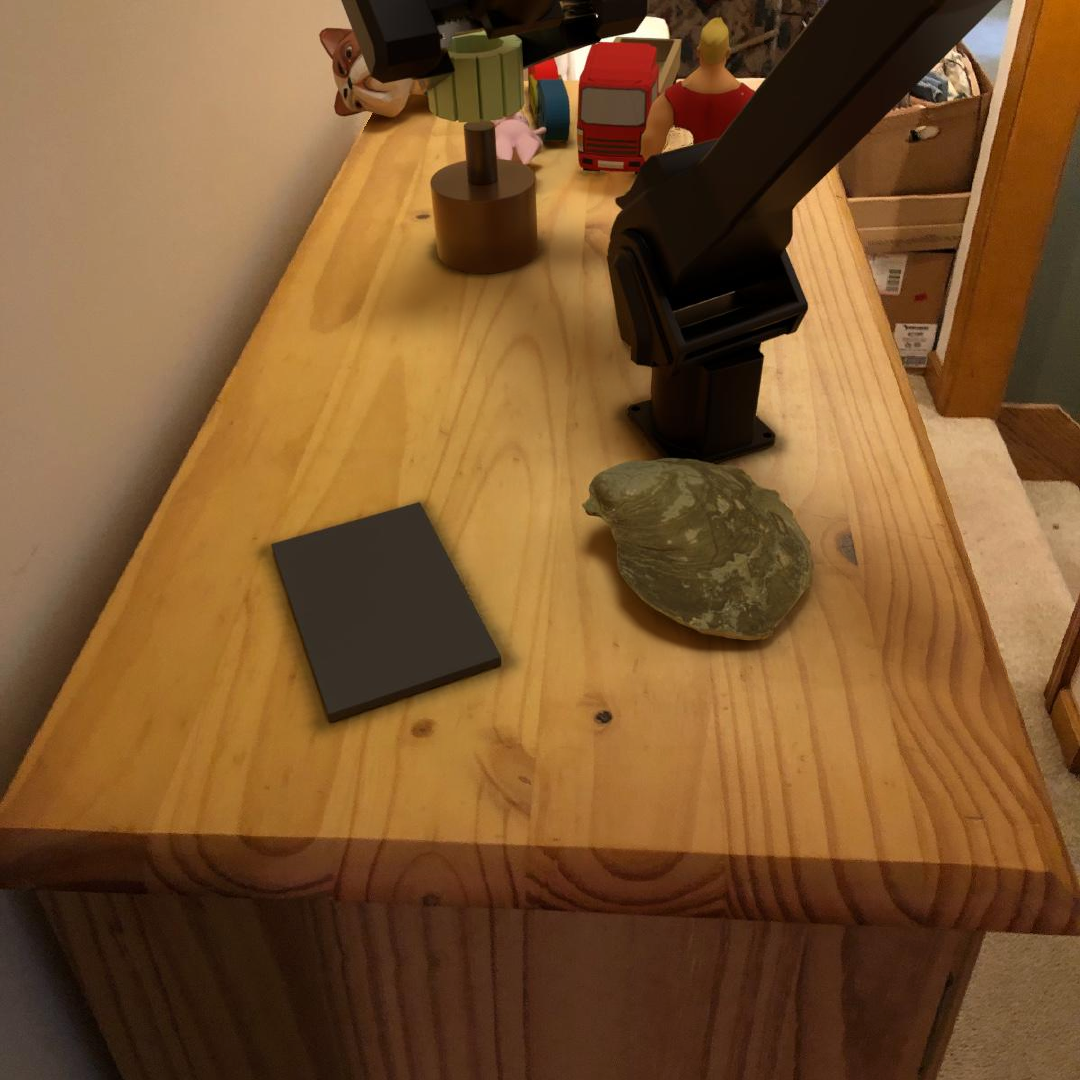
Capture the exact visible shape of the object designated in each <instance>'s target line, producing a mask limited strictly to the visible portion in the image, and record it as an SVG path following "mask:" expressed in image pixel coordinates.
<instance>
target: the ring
mask: <svg viewBox="0 0 1080 1080" xmlns="http://www.w3.org/2000/svg"><path fill="white" fill-rule="evenodd" d="M447 51H448V53H449V56H450V58H451V61H452V63H453V66H454V69H455V72H454V73H453V74H451V75H450V76H449V77H447V78H446V79H445V80H443V81H442V82H441V83H439V84H438V85H437V86H435V87H434V88H432V89H430V90H429V91H428V97H427V99H428V108H429V111H430V112H431V113H432V114H433V115H434V116H435V117H438V118H439V119H442V120H447V121H450V122H457V121H458V123H467V122H480V120H482V121H483V122H487V121H491V122H492V121H493V120H498V119H503V117H509V116H511V115H513V114H515V113H520V112H521V110H522V111H523V108H524V105H525V80H524V79H525V77H524V70H523V51H522V41H521V39H520V38H518V37H517V36H515V35H510V36H505V37H500V38H495V39H490V40H488V37H487V35H486V32H485V31H481V32H476V33H471V34H466V35H461V36H455V37H452V42H451V44H450V46H449V48H447Z"/></svg>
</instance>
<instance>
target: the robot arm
mask: <svg viewBox="0 0 1080 1080" xmlns="http://www.w3.org/2000/svg"><path fill="white" fill-rule="evenodd" d="M340 1H341V3H342V6H343V9H344V11H345V14H346V16H347V19H348V22H349V24H350V27H351V29H352V30H353V32H354V35H355V37H356V40H357V42H358V45H359V48H360V50H361V53H362V55H363V58H364V60H365V63H366V66H367V68H368V71H369V73H370V76H371V77H372V78H374V79H376V80H378V81H379V82H381V83H383V84H384V83H389V82H394V81H399V80H404V79H409V78H411V79H412V80H416V81H417V80H418V83H419V86H420V88H421V91H422V92H426V91H429V90H430V89H432V88H434V87H435V86H437V85H438V84H439V83H441V82H442V81H443V80H445V79H446V78H447V77H449V76H450V75H451V74H453V73H454V72H455V69H454V66H453V63H452V61H451V58H450V56H449V53H448V51H447V48H449V46H450V44H451V42H452V37H455V36H461V35H466V34H471V33H476V32H481V31H485V32H486V35H487V37H488V40H490V39H495V38H500V37H505V36H510V35H515V36H517V37H518V38H520V39H521V41H522V51H523V71H524V70H528V68H529V67H532V66H534V65H537V64H540V63H542V62H545V61H547V60H550V59H553V58H554V59H556V58H558V57H561V56H563V55H567V54H569V53H572V52H575V51H577V50H578V51H579V50H580V49H583V48H586V47H589V46H591V45H593V44H597V43H598V42H601V40H604V39H608V38H609V39H610V38H615V37H620V36H624V35H628V34H633V33H636V32H637V30H638V29H639V28H640V26H641V25H642V23H643V22H644V21H645V19H646V17H647V16H648V13H649V10H650V7H651V0H340ZM1002 1H1003V0H824V2H823V3H822V5H821V6H820V7H819V9H818V10H817V11H816V13H814V15H813V16H812V17H811V19H810V20H809V21H808V23H807V24H806V25H805V26H804V28H803V29H802V30H801V32H800V33H799V34H798V35H797V37H796V38H795V39H794V40H793V42H792V43H791V45H790V46H789V47H788V48H787V50H786V51H785V52H784V53H783V55H782V56H781V58H780V59H779V60H778V61H777V63H776V64H775V65H774V67H773V68H772V69H771V70H770V72H769V73H768V74H767V75H766V77H765V78H764V79H763V80H762V82H761V83H760V84H759V86H757V88H756V90H755V92H754V94H753V95H752V96H751V98H750V99H749V100H748V101H747V103H746V104H745V105H744V107H743V108H742V109H741V110H740V112H739V113H738V114H737V116H736V117H735V118H734V119H733V121H732V122H731V123H730V125H729V126H728V127H727V128H726V130H725V131H724V132H723V134H722V135H721V136H720V137H719V138H716V139H713V140H709V141H705V142H701V143H697V144H694V145H693V144H690V145H687V146H683V147H679V148H675V149H671V150H668V151H663V152H662V153H659V154H656V155H652V156H650V157H649V158H648V159H647V161H646V162H645V163H644V164H643V165H642V166H641V167H640V169H639V171H638V173H637V174H635V175H636V176H635V178H634V180H633V182H632V184H631V186H630V188H629V189H628V190H627V191H626V192H625V193H624V194H623V195H620V196H617V197H615V200H614V201H615V204H616V206H617V207H618V208H620V211H619V212H618V214H617V215H616V216H615V219H614V221H613V224H612V226H611V230H610V235H609V240H610V241H609V242H608V246H607V254H606V261H607V268H608V269H607V270H608V275H609V279H610V286H611V292H612V298H613V304H614V309H615V310H614V311H615V317H616V323H617V327H618V331H619V336H620V339H621V341H622V343H624V344H626V345H627V346H628V347H629V348H630V359H629V360H630V361H631V362H632V363H634V365H636V366H640V367H647V368H648V367H650V368H651V377H650V378H651V379H650V399H647V400H643V401H639V402H636V403H632V404H630V405H628V406H627V411H626V412H627V417H628V419H630V420H631V422H632V423H633V424H634V425H635V427H637V429H638V430H639V431H640V432H641V433H642V434H643V436H644V437H645V438H646V439H647V440H648V442H649V443H650V444H651V445H652V446H653V448H655V450H656V451H657V453H658V454H659V455H660V456H661V457H662V458H679V459H695V460H699V461H703V462H709V463H712V464H715V463H718V462H721V461H725V460H728V459H731V458H734V457H738V456H741V455H745V454H749V453H751V452H756V451H758V450H759V451H760V450H761V449H764V448H768V447H772V446H774V445H775V443H776V439H777V435H776V433H775V432H774V431H773V429H771V428H770V427H769V426H768V425H767V424H766V423H765V422H764V421H763V420H762V419H761V418H760V417H759V416H758V415H757V413H758V406H759V396H760V392H761V391H760V389H761V383H762V375H763V369H764V362H765V361H764V360H765V354H764V353H762V352H761V347H762V343H765V342H767V341H770V340H773V339H775V338H778V337H781V336H784V335H786V336H789V335H791V334H794V333H796V332H798V330H799V327H800V325H802V322H803V320H804V318H805V316H806V314H807V313H808V311H809V302H808V300H807V298H806V295H805V293H804V290H803V288H802V286H801V283H800V280H799V278H798V276H797V273H796V271H795V269H794V266H793V263H792V261H791V259H790V256H789V253H788V251H787V248H788V246H789V244H791V241H792V238H793V235H794V231H793V230H794V209H795V208H796V206H797V205H798V204H799V203H800V202H801V201H802V200H803V199H804V198H805V197H806V196H807V195H808V194H809V193H810V192H811V191H812V190H813V189H814V188H815V187H816V186H817V185H818V184H819V183H820V182H821V181H822V180H823V179H824V178H825V177H826V176H827V175H828V174H829V173H830V172H831V171H832V170H833V169H834V168H835V167H836V166H837V165H838V164H839V163H840V162H841V161H843V159H844V158H845V157H846V156H847V155H848V154H849V153H850V152H851V151H852V150H853V149H854V148H855V147H856V146H857V145H858V144H859V143H860V142H861V141H862V140H863V139H864V138H866V136H867V135H868V134H869V133H870V132H871V131H872V130H874V128H875V127H876V126H877V125H878V124H879V123H880V122H881V121H882V120H883V119H884V118H885V117H886V116H887V115H888V114H889V113H890V112H891V111H892V110H893V109H894V108H895V107H896V106H897V105H898V104H899V103H900V102H901V101H902V100H903V99H904V98H905V97H906V96H907V95H909V93H910V92H911V91H912V90H913V89H915V87H916V86H917V85H918V84H919V83H920V82H922V80H923V79H924V78H925V77H926V76H927V75H928V74H929V73H930V72H931V71H932V70H933V69H934V68H935V67H936V66H937V65H938V64H939V63H940V62H941V61H942V60H943V59H944V58H945V57H946V56H947V55H948V54H949V53H950V52H951V51H952V50H954V48H955V47H956V46H957V45H959V43H960V42H961V41H962V40H963V39H964V38H965V37H966V36H967V35H968V34H969V33H970V32H971V31H972V30H974V28H976V26H977V25H978V24H979V23H981V21H982V20H983V19H984V18H986V16H987V15H988V14H989V13H990V12H991V11H992V10H993V9H994V8H995V7H997V5H998V4H999V3H1001V2H1002ZM734 291H735V292H734ZM731 292H733V293H731ZM728 293H730V294H728ZM725 294H727V295H725ZM722 295H724V296H722ZM719 296H721V297H719ZM716 297H718V298H716ZM713 298H715V299H713ZM710 299H712V300H710ZM707 300H709V301H707ZM704 301H706V302H704ZM701 302H703V303H701ZM698 303H700V304H698ZM695 304H697V305H695ZM692 305H694V306H692ZM689 306H691V307H689ZM686 307H688V308H686ZM683 308H685V309H683ZM680 309H682V310H680ZM677 310H679V311H677ZM674 311H676V312H674Z"/></svg>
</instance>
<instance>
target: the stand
mask: <svg viewBox="0 0 1080 1080" xmlns="http://www.w3.org/2000/svg"><path fill="white" fill-rule="evenodd" d="M463 138H464V139H463V140H464V151H465V160H462V161H457V162H454V163H451V164H448V165H446V166H444V167H442V168H440V169H439V170H437V171H436V172H434V174H433V175H432V176H431V178H430V180H429V182H430V183H429V184H430V195H431V204H432V205H431V206H432V213H433V223H434V233H435V241H436V252H437V256H438V259H439V260H440V261H441V263H443V264H444V265H445V266H447V267H449V268H451V269H453V270H456V271H460V272H463V273H464V272H465V273H471V274H496V273H503V272H507V271H511V270H514V269H517V268H520V267H522V266H524V265H526V264H528V263H529V262H531V260H532V259H534V258H535V256H536V255H537V253H538V249H539V243H538V241H539V240H538V211H537V181H536V180H537V179H536V178H537V177H536V174H535V172H534V171H533V170H532V168H530V167H529V166H527V165H523V164H521V163H518V162H515V161H511V160H505V159H497V151H496V134H495V124H494V123H493V122H492V121H487V122H483V121H482V120H480V122H465V123H464V124H463Z"/></svg>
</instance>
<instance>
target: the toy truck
mask: <svg viewBox="0 0 1080 1080" xmlns="http://www.w3.org/2000/svg"><path fill="white" fill-rule="evenodd" d="M681 52H682V39H681V38H662V37H661V38H659V37H657V38H656V37H633V36H632V37H631V36H615V37H614V40H613V41H600V42H598V43H597V44H593V45H590V48H589V51H588V53H587V56H586V59H585V63H584V67H583V70H582V72H581V73H580V76H579V81H578V95H577V119H576V120H577V121H576V145H577V157H578V159H577V160H578V164H579V167H580V168H582V171H583V172H597V173H600V172H609V173H610V172H611V173H634V175H637V173H638V171H639V169H640V167H641V166H642V165H643V164H644V163H645V162H646V161H645V160H644V158H643V156H642V149H641V139H642V135H643V133H644V131H645V130H646V124H647V119H648V115H649V112H650V109H651V105H652V103H653V102H654V101H655V100H656V99H657V98H658V97H659V96H660V95H661V94H663V93H664V92H665V89H667V88H668V87H671V86H672V85H674V84H675V83H677V81H678V79H679V70H680V67H681V54H682V53H681Z"/></svg>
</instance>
